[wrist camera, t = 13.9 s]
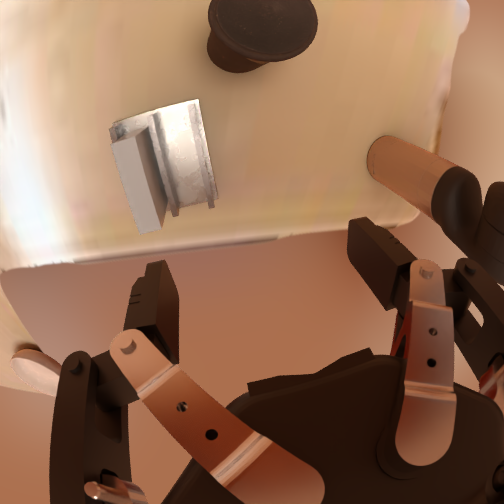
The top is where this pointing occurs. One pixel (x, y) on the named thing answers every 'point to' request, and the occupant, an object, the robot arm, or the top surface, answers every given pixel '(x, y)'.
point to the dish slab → (141, 179)
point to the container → (258, 32)
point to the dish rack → (177, 152)
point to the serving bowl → (37, 370)
